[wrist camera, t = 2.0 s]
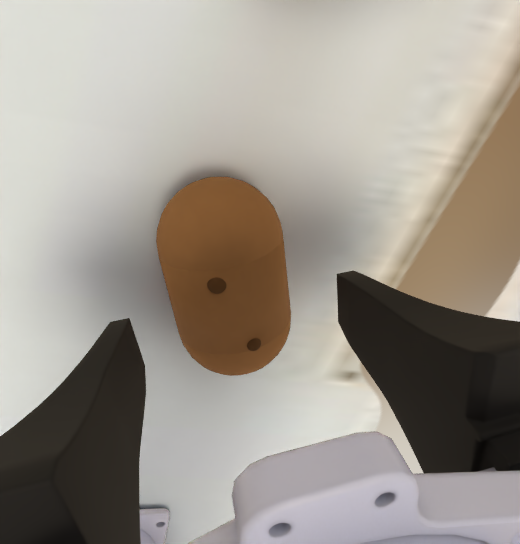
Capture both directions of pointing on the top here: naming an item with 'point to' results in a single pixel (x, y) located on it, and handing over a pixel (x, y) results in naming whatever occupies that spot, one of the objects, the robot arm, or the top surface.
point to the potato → (225, 274)
